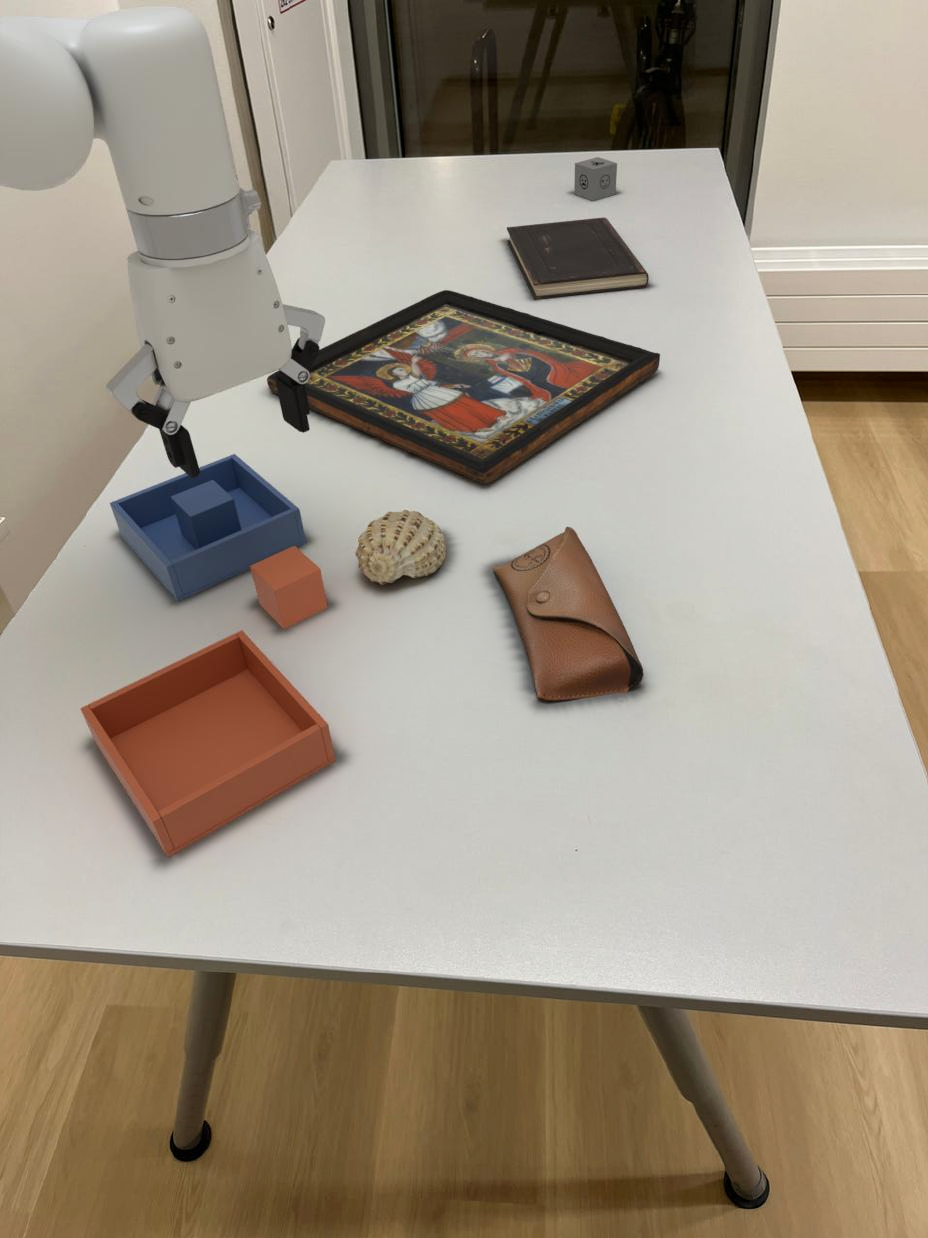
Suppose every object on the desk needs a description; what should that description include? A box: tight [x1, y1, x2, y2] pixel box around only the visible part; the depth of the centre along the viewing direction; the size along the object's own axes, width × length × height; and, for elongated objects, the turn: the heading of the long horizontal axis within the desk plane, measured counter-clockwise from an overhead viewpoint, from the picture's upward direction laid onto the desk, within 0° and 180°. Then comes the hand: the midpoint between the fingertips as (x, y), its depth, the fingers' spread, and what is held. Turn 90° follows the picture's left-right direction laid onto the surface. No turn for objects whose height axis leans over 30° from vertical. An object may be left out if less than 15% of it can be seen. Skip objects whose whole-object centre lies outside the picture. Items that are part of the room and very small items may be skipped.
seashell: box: [355, 509, 447, 586], centre depth 86 cm, size 8×6×10 cm
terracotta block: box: [250, 546, 329, 630], centre depth 82 cm, size 4×4×4 cm
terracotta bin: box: [80, 629, 337, 858], centre depth 69 cm, size 13×13×4 cm
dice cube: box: [573, 156, 618, 202], centre depth 162 cm, size 5×5×5 cm
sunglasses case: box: [492, 526, 644, 702], centre depth 78 cm, size 18×7×7 cm
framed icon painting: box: [266, 289, 661, 484], centre depth 112 cm, size 38×35×3 cm
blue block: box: [171, 480, 241, 550], centre depth 90 cm, size 4×4×4 cm
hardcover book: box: [506, 217, 649, 300], centre depth 139 cm, size 16×23×2 cm
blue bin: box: [109, 453, 307, 602], centre depth 90 cm, size 13×13×4 cm
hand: (244, 447), depth 75 cm, fingers open, 9 cm apart
